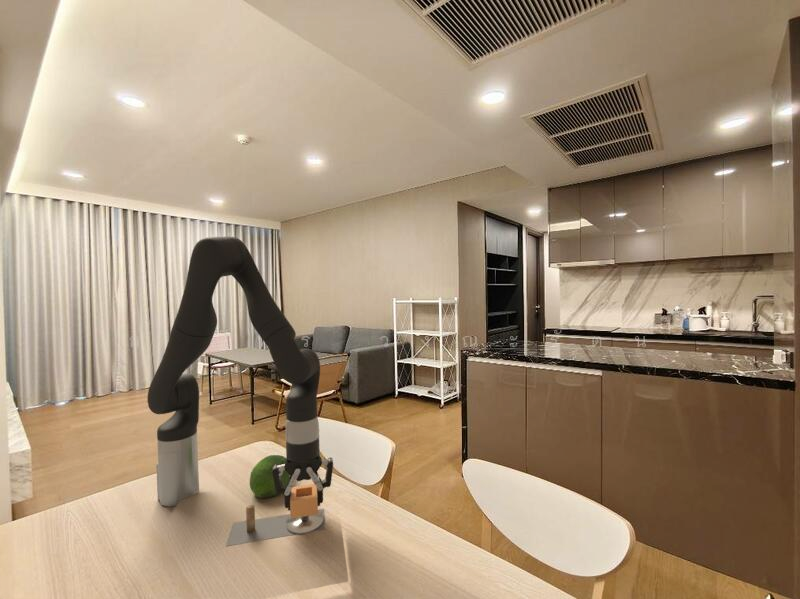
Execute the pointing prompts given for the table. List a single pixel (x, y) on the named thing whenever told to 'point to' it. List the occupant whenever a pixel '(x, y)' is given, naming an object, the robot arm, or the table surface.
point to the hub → (304, 523)
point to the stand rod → (250, 518)
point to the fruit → (267, 476)
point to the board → (262, 530)
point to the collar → (303, 501)
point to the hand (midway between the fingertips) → (304, 506)
